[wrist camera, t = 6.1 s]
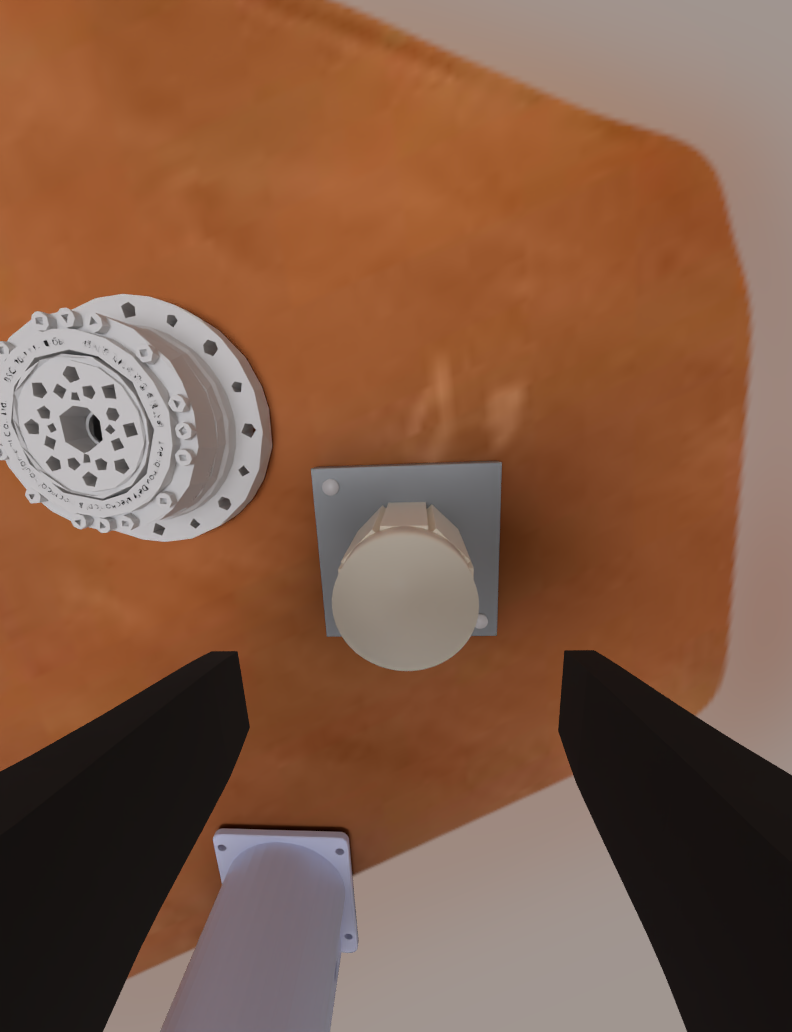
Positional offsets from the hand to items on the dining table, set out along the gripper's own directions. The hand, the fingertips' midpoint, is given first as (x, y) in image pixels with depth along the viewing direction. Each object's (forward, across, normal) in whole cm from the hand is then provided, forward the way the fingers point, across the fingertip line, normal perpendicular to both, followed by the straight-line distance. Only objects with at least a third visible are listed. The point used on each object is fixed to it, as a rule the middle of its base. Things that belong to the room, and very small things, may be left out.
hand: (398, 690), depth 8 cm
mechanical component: (+10, +11, -6) cm, 16 cm away
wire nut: (+8, 0, 0) cm, 9 cm away
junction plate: (+9, 0, 0) cm, 9 cm away
